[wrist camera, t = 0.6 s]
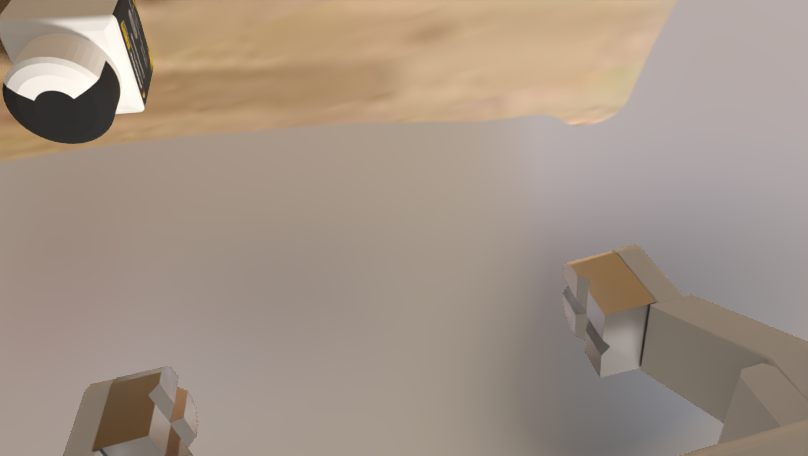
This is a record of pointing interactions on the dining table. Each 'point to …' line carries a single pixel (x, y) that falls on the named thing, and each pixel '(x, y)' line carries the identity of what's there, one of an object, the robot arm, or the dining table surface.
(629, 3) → the dining table surface
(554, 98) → the dining table surface
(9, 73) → the medicine bottle
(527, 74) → the dining table surface
